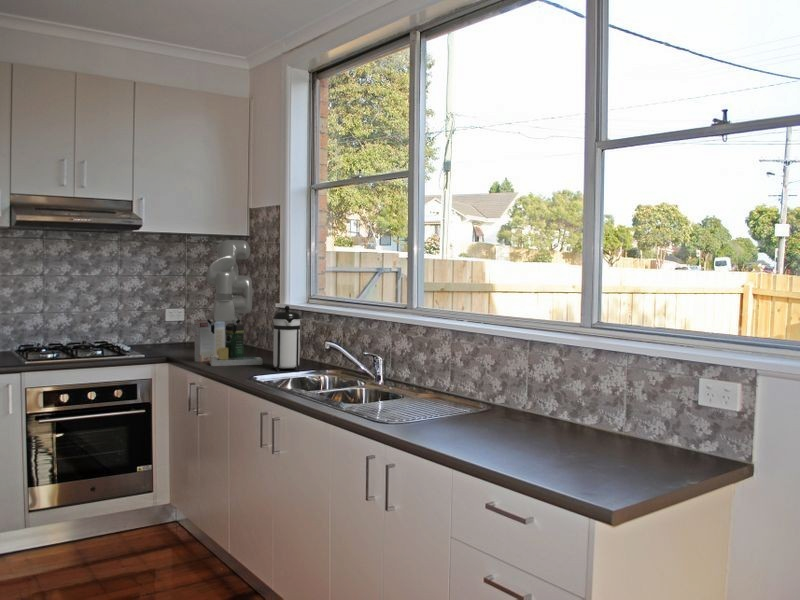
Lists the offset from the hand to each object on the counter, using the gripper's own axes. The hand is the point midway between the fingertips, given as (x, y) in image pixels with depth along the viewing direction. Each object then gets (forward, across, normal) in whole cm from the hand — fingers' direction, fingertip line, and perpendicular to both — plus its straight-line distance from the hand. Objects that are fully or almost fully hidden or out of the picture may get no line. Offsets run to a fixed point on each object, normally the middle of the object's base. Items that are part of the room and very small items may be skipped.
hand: (223, 333), depth 346 cm
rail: (+15, -6, -1) cm, 17 cm away
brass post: (+15, 0, -1) cm, 15 cm away
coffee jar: (+15, -8, -22) cm, 28 cm away
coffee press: (+16, -26, +18) cm, 36 cm away
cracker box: (+15, +5, -16) cm, 23 cm away
